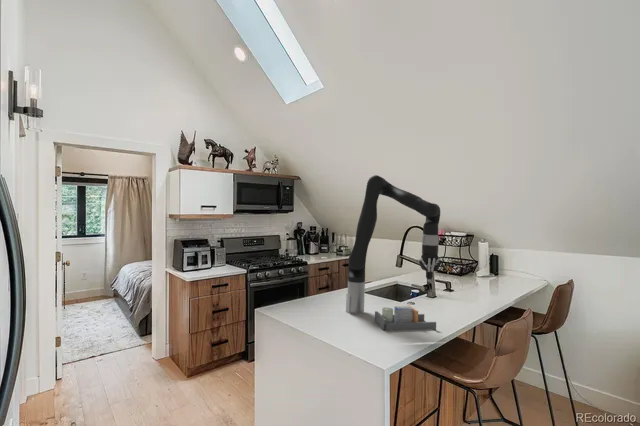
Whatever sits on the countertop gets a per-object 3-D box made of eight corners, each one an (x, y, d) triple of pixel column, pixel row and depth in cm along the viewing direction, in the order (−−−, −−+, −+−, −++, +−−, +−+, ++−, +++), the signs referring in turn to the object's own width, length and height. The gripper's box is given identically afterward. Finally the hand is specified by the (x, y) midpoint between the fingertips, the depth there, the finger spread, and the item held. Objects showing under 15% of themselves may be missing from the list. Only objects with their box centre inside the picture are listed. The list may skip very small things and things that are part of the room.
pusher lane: (383, 332, 150) (384, 320, 150) (374, 323, 162) (375, 311, 162) (436, 330, 154) (436, 318, 154) (423, 321, 167) (423, 310, 167)
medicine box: (409, 323, 161) (409, 305, 161) (412, 326, 156) (413, 308, 156) (393, 323, 160) (394, 306, 160) (397, 326, 155) (397, 308, 155)
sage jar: (384, 327, 154) (384, 310, 154) (380, 323, 159) (380, 307, 159) (394, 327, 155) (394, 310, 155) (390, 323, 160) (390, 307, 160)
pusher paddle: (415, 328, 154) (415, 311, 154) (406, 321, 164) (407, 305, 163) (417, 328, 154) (418, 311, 154) (408, 321, 164) (409, 305, 164)
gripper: (438, 243, 165) (437, 277, 165) (414, 243, 162) (413, 277, 163) (446, 244, 157) (445, 280, 158) (421, 244, 155) (420, 281, 155)
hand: (429, 279), depth 160 cm, fingers closed
